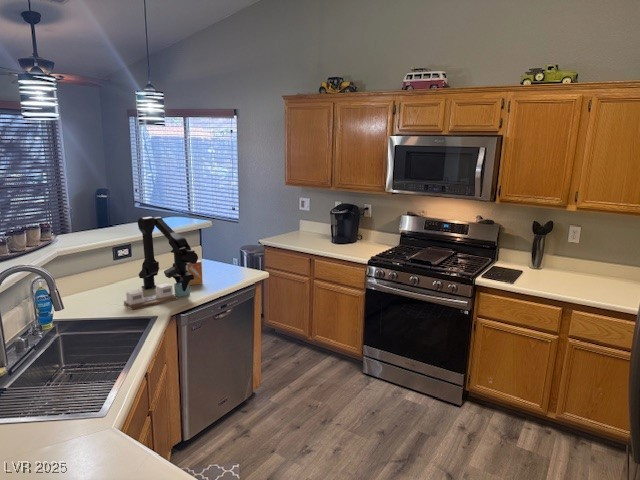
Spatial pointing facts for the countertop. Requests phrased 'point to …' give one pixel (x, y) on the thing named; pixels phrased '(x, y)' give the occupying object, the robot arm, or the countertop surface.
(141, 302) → the metal rail
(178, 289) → the block
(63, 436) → the countertop surface
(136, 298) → the mounted modules
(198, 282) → the small box
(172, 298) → the rail board
